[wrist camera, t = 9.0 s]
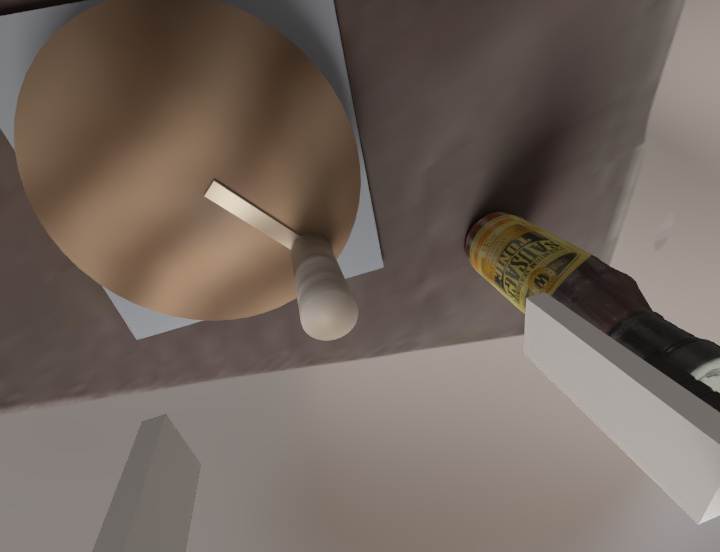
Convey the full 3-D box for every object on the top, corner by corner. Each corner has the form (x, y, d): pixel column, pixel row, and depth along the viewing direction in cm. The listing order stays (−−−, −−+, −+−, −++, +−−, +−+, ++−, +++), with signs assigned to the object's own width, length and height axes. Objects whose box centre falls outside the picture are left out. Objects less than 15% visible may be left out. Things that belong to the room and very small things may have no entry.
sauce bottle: (484, 198, 32) (739, 306, 15) (529, 225, 35) (793, 345, 17) (446, 258, 34) (632, 417, 17) (491, 280, 37) (695, 438, 19)
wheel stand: (-53, 30, 20) (-65, 27, 19) (323, -39, 22) (325, -44, 22) (139, 334, 30) (136, 339, 29) (381, 263, 33) (383, 267, 32)
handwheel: (-7, 210, 23) (-247, 301, 12) (139, -88, 19) (-31, -345, 8) (260, 336, 32) (257, 453, 21) (401, 152, 27) (486, 181, 17)
